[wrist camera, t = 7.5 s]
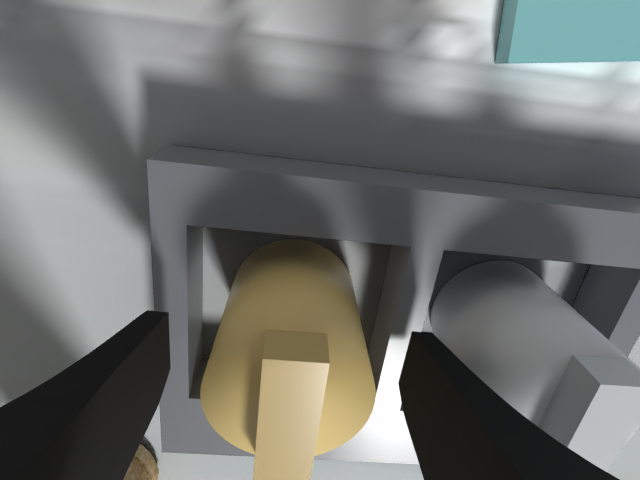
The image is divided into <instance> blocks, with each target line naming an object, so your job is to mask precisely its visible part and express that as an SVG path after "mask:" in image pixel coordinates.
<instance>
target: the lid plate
mask: <svg viewBox="0 0 640 480" xmlns="http://www.w3.org/2000/svg"><path fill="white" fill-rule="evenodd" d="M615 61H640V0H504V6H503V13H502V20H501V26H500V33H499V40H498V46H497V53H496V60H495V63H559V62H615Z"/></svg>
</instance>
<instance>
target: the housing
mask: <svg viewBox="0 0 640 480" xmlns="http://www.w3.org/2000/svg"><path fill="white" fill-rule="evenodd" d="M147 176H148V195H149V214H150V233H151V252H152V271H153V290H154V309H155V311H159V312H169V338H170V365H171V368H170V372H169V375H168V378H167V381H166V384H165V387H164V390H163V393H162V396H161V399H160V402H159V404H160V423H161V442H162V452H169V453H190V454H212V455H233V456H254V457H255V454H251V453H249V452H246V451H244V450H241V449H240V448H238V447H236V446H234V445H232V444H231V443H229V442H228V441H226V440H225V439H224V438H223V437H221V436H220V435H219V434H218V433H217V432H216V431H215V430H214V429H213V427H212V426H211V425H210V423H209V422H208V420H207V418H206V416H205V414H204V412H203V408H202V405H201V397H200V391H201V383H202V380H203V376H204V373H205V370H206V367H207V363H208V359H202V277H203V227H211V228H222V229H232V230H242V231H253V232H263V233H273V234H284V235H294V236H304V237H315V238H325V239H335V240H346V241H356V242H366V243H377V244H387V245H392V246H391V250H390V255H389V259H388V264H387V269H386V273H385V278H384V283H383V287H382V292H381V296H380V301H379V306H378V310H377V315H376V320H375V324H374V329H373V333H372V338H371V343H370V347H369V352H368V356H369V360H370V364H371V369H372V373H373V378H374V383H375V389H376V397H375V404H374V407H373V410H372V413H371V415H370V417H369V419H368V421H367V422H366V424H365V425H364V426H363V428H362V429H361V430H360V431H359V432H358V433H357V434H356V435H355V436H354V437H353V438H351V439H350V440H349V441H347V442H346V443H344V444H343V445H341V446H339V447H337V448H335V449H333V450H331V451H328V452H326V453H323V454H320V455H316V456H314V459H318V460H340V461H361V462H382V463H404V464H419V462H418V459H417V455H416V452H415V449H414V446H413V443H412V440H411V436H410V433H409V430H408V427H407V423H406V420H405V417H404V412H403V407H402V402H401V396H400V390H399V384H398V382H399V378H400V375H401V371H402V367H403V363H404V359H405V356H406V352H407V348H408V344H409V341H410V337H411V333H412V331H417V332H422V328H423V324H424V321H425V317H426V313H427V310H428V306H429V303H430V299H431V295H432V292H433V288H434V284H435V281H436V277H437V274H438V270H439V266H440V263H441V259H442V256H443V252H444V250H449V251H460V252H470V253H480V254H491V255H501V256H511V257H522V258H532V259H542V260H553V261H563V262H573V263H584V264H591V265H590V268H589V270H588V272H587V274H586V277H585V279H584V281H583V283H582V285H581V288H580V290H579V292H578V294H577V297H576V299H575V301H574V303H573V306H572V308H573V309H575V310H576V311H577V312H578V313H579V314H580V315H581V316H582V317H583V318H585V319H586V320H587V321H588V322H589V323H590V324H591V325H592V326H593V327H595V328H596V329H597V330H598V331H599V332H600V333H601V334H602V335H603V336H605V337H606V338H607V339H608V340H609V341H610V342H611V343H612V344H613V345H615V346H616V347H617V348H618V349H619V350H620V351H621V352H622V353H623V354H625V355H626V356H627V357H628V355H629V354H630V352H631V350H632V348H633V346H634V344H635V343H636V341H637V339H638V337H639V335H640V198H631V197H622V196H614V195H605V194H596V193H587V192H578V191H570V190H561V189H552V188H543V187H534V186H526V185H517V184H508V183H499V182H491V181H482V180H473V179H464V178H455V177H447V176H438V175H429V174H420V173H411V172H403V171H394V170H385V169H376V168H367V167H359V166H350V165H341V164H332V163H324V162H315V161H306V160H297V159H288V158H280V157H271V156H262V155H253V154H244V153H236V152H227V151H218V150H209V149H200V148H192V147H183V146H174V145H169V146H168V147H166V148H164V149H163V150H161V151H159V152H158V153H156V154H155V155H153V156H151V157H150V158H148V159H147Z"/></svg>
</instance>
